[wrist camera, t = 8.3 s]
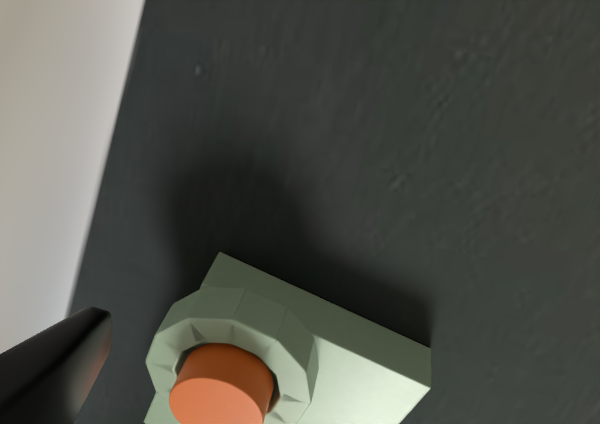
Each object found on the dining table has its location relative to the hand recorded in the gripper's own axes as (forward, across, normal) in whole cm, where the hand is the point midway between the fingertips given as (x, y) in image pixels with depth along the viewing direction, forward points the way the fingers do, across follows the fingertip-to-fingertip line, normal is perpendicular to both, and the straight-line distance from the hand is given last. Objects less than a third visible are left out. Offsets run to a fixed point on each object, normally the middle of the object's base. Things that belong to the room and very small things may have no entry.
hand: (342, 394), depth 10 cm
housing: (+11, +2, +12) cm, 17 cm away
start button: (+7, +3, +10) cm, 13 cm away
